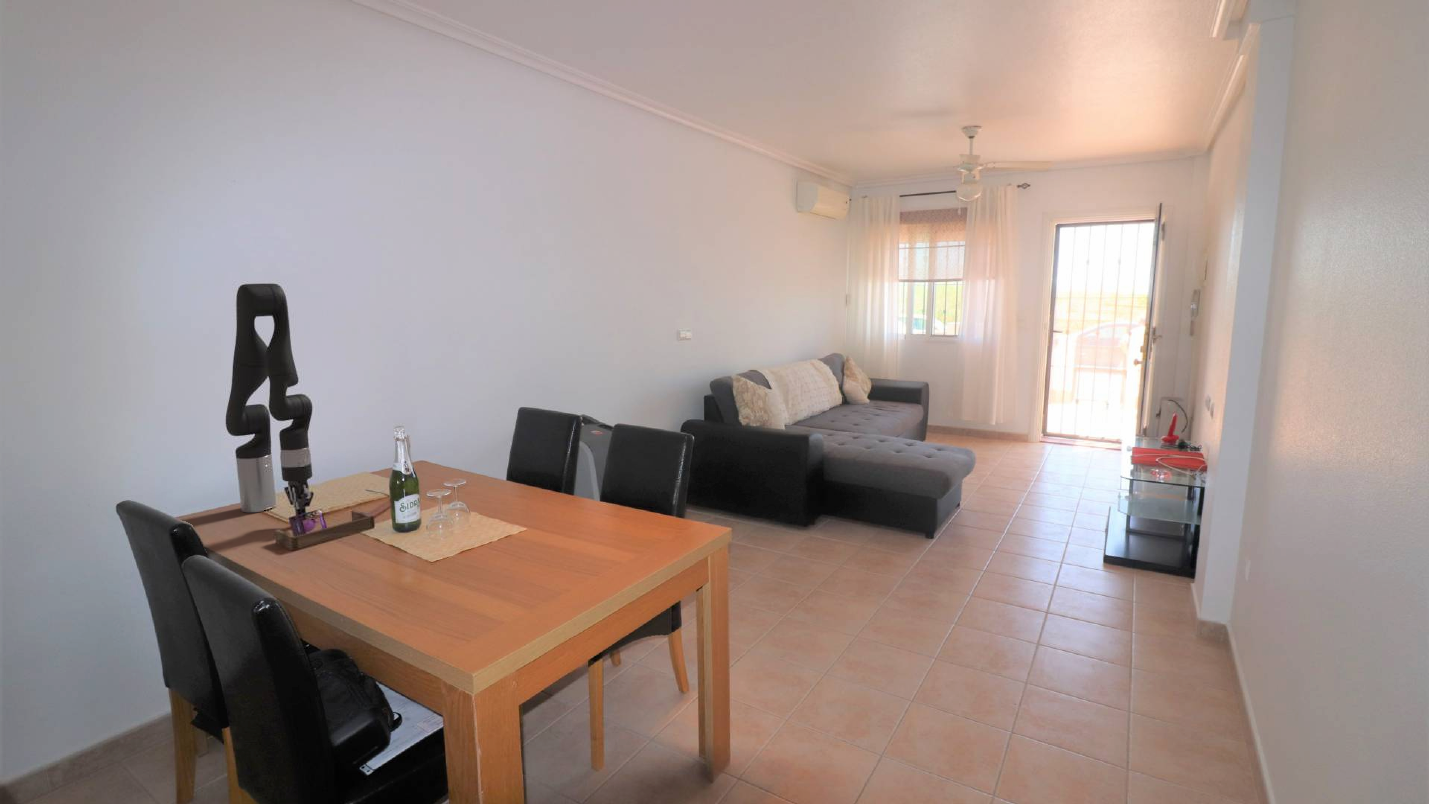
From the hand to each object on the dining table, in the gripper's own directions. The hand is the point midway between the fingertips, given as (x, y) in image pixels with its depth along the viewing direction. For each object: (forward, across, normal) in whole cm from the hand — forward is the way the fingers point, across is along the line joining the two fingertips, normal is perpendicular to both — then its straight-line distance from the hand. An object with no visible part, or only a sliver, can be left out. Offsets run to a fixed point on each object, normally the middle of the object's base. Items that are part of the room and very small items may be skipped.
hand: (301, 520), depth 197 cm
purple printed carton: (+2, +9, -3) cm, 10 cm away
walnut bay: (+2, +14, 0) cm, 14 cm away
